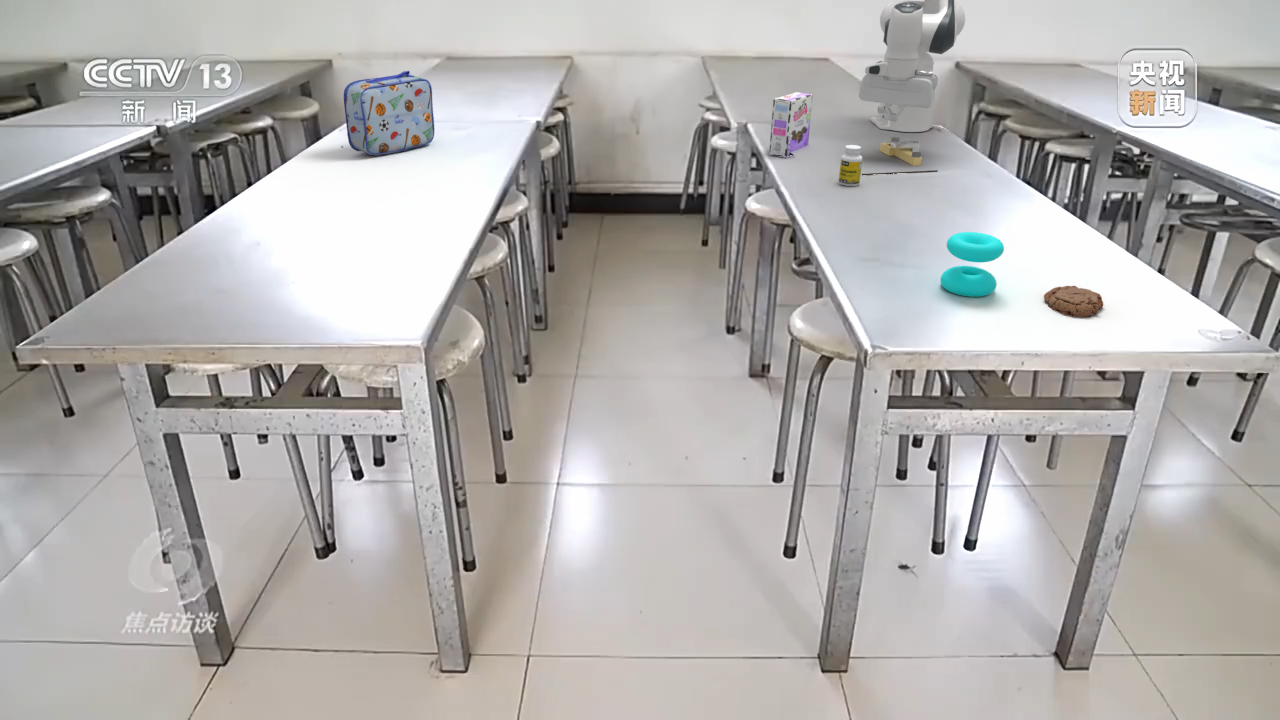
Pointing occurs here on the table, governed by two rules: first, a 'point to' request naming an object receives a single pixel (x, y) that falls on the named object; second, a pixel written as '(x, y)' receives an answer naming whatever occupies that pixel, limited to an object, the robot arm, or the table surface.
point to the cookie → (1074, 301)
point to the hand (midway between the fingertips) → (893, 120)
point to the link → (902, 154)
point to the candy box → (790, 123)
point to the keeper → (907, 145)
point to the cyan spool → (969, 277)
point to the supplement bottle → (850, 166)
